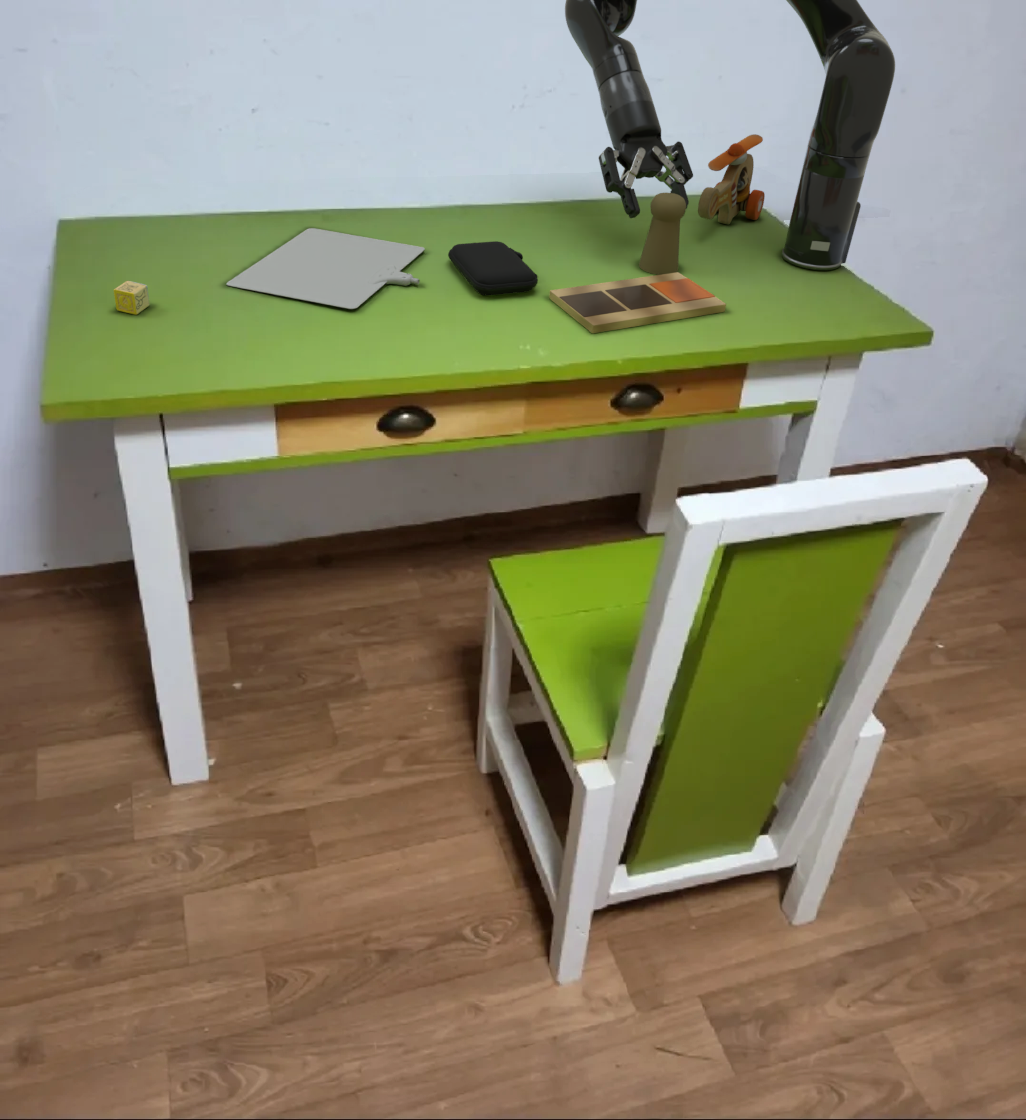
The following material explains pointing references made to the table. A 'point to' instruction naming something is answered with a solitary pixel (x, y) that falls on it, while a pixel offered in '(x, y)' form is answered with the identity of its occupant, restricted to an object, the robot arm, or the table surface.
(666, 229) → the olive brown pawn
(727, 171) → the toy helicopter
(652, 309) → the board
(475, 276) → the carrying case
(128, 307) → the alphabet block
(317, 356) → the table surface
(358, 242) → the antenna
